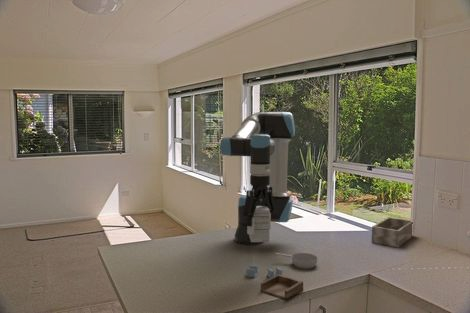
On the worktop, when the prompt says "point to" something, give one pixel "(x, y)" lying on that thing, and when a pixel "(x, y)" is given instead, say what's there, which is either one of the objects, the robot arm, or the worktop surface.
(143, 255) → the worktop surface
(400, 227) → the box
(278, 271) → the clip
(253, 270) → the clip
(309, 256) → the saucepan
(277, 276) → the wooden tray
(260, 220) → the supplement box
